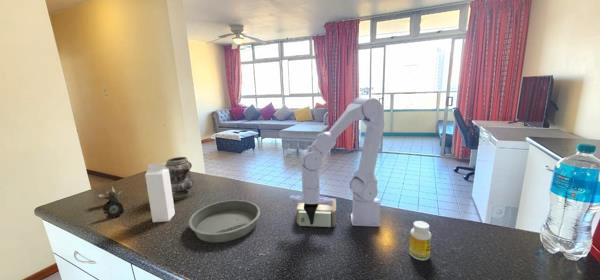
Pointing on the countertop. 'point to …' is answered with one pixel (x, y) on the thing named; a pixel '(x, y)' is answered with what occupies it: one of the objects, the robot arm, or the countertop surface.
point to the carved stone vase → (180, 177)
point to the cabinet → (319, 209)
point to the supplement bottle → (420, 241)
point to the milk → (159, 192)
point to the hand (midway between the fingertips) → (311, 223)
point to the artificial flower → (112, 204)
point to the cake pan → (224, 220)
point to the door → (317, 219)
